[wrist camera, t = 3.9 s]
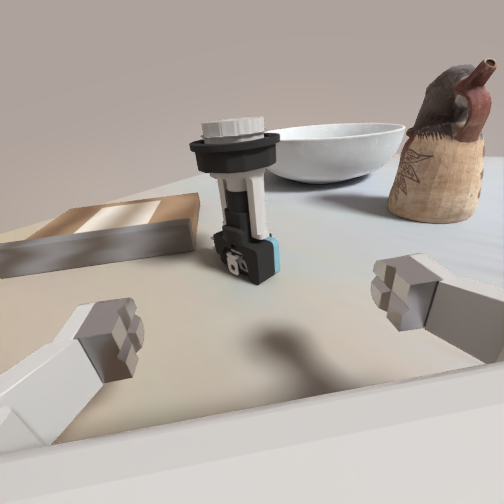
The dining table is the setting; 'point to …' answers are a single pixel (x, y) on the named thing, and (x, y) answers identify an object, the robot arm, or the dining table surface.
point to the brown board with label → (106, 235)
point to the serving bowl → (334, 151)
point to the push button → (241, 192)
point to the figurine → (445, 149)
